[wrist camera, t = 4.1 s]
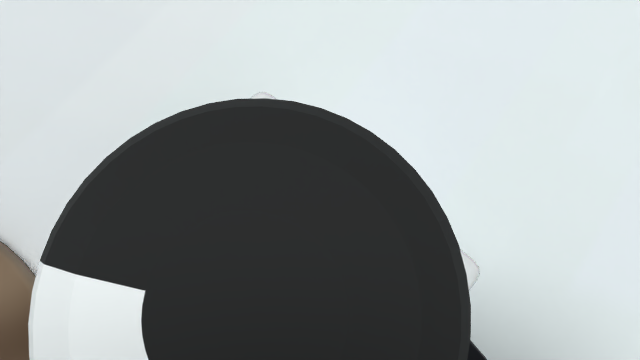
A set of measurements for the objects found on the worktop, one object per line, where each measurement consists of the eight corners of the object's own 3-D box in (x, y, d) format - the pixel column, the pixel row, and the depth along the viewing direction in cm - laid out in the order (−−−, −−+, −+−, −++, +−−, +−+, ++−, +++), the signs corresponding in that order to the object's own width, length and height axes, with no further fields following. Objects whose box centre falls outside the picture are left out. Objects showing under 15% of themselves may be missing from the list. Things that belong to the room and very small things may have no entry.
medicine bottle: (278, 151, 18) (225, -58, 6) (416, 266, 17) (648, 273, 6) (154, 291, 17) (-192, 354, 5) (297, 419, 16) (276, 834, 4)
